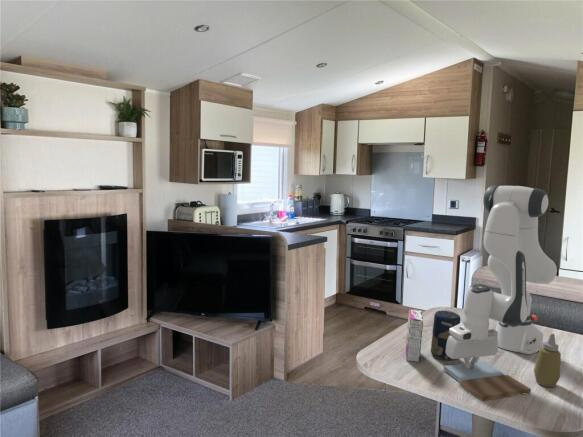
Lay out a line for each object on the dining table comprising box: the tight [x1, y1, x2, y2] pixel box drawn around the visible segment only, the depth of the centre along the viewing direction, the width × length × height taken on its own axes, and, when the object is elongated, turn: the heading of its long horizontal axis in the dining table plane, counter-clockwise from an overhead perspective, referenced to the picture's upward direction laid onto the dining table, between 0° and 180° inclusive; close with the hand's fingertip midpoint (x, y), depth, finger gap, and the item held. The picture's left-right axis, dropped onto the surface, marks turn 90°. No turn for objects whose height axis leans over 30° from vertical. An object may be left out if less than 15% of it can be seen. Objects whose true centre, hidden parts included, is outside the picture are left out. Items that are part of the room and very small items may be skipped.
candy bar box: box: [405, 309, 424, 363], centre depth 179 cm, size 11×5×16 cm, turn 168°
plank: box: [443, 360, 506, 384], centre depth 167 cm, size 18×10×2 cm, turn 110°
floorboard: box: [460, 374, 532, 401], centre depth 157 cm, size 20×10×2 cm, turn 110°
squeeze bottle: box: [533, 333, 562, 388], centre depth 162 cm, size 8×8×18 cm
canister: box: [430, 310, 462, 361], centre depth 180 cm, size 10×10×18 cm
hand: (470, 367), depth 168 cm, fingers closed, pressing on plank
